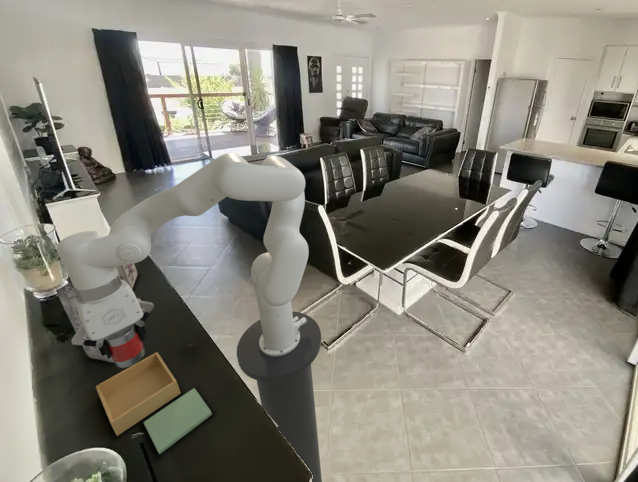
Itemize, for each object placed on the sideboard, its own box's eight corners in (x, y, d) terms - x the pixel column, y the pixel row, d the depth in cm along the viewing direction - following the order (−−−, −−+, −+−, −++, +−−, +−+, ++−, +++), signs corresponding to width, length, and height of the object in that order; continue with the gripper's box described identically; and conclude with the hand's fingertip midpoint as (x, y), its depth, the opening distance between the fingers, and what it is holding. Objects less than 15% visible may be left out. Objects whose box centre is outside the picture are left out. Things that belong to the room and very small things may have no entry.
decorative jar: (104, 280, 129) (88, 242, 122) (138, 273, 134) (125, 236, 126) (94, 299, 119) (77, 258, 112) (132, 290, 124) (118, 251, 117)
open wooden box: (161, 363, 95) (157, 351, 93) (180, 393, 86) (176, 381, 84) (101, 398, 85) (95, 386, 83) (117, 436, 76) (110, 423, 74)
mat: (195, 390, 87) (194, 387, 87) (212, 414, 81) (211, 411, 81) (144, 424, 79) (143, 422, 78) (159, 454, 73) (158, 452, 72)
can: (141, 343, 83) (130, 316, 79) (149, 356, 79) (138, 328, 76) (112, 358, 79) (99, 330, 75) (119, 372, 75) (106, 344, 71)
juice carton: (113, 367, 93) (80, 292, 82) (84, 360, 95) (47, 287, 84) (139, 342, 101) (112, 272, 90) (112, 337, 103) (82, 267, 92)
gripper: (48, 316, 62) (83, 380, 69) (150, 274, 74) (170, 332, 81) (43, 298, 66) (76, 360, 74) (140, 262, 78) (160, 318, 86)
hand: (125, 345), depth 77 cm, fingers closed on can, 6 cm apart
